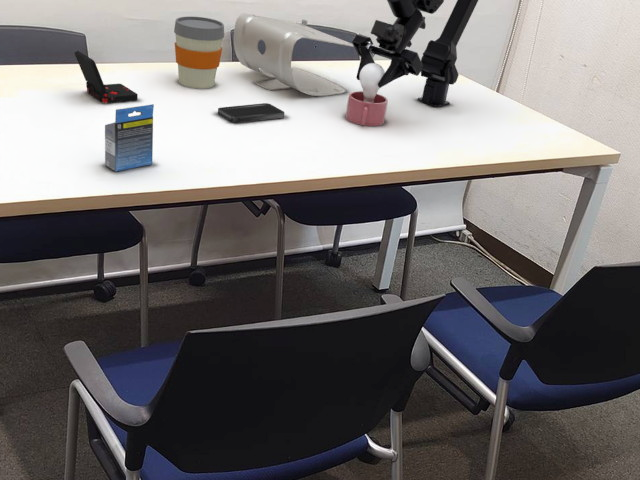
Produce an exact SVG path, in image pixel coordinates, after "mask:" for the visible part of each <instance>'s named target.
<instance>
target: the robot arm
mask: <svg viewBox="0 0 640 480" xmlns="http://www.w3.org/2000/svg"><path fill="white" fill-rule="evenodd" d="M386 1H387V4H388V6H389V8H390V10H391V13H392V15H393V16H394V17H395V18H396V19H395V21H394V22H393V24H392V23H388V22H384V21H381V20H378V19H375V20H374V24H373V26H372V28H371V31H370V34H371V35H374V36H375V37H376V39H375V41H376V42H377V43H378V44H379V45H376V44H374V42H373V39H372V38H371V37H369V36H367V35H364V34H362V33H361V34H360V33H358V34H356V35H354V37H353V39H352V40H351V43H352V44H353V46H354V47H353V48H354V50H355V51H356V53H357V55H358V56H359V57H360V61H359V64H358V65H359V66H358V69H357V74H356V77H355V78H356V80H357V81H360V80H359V74H360V71H361V69H362V68H363V67H364V66H365V65H367V64H369V63H376V62H375V60H374V57H375V55H376V56H380V57H383V58H386V59H388V60H390V64H389V66H388V67H387V69H386V70H385V74H384V75H383V76H382V78H381V80H380V81H379V83H378V87H379V88H380V89H381V88H383V87H385V86H387V85H388V84H389V83H392V82H393V81H395V80H397V79H400V78H402V77H403V76H404V77H405V76H409V75H410V74H411V75H413V76H417V77H418V76H419V75H420V77H423V78H426V79H425V84H424V86H423V92H422V95H421V97H417V101H419V102H421V103H424V104H426V105H429V106H432V107H435V108H436V107H442V106H448V105H450V104H451V103H450V101H448V100H447V97H448V92H449V87H450V85H454V84H455V83H457V80H458V79H459V78H458V77H459V75H460V74H459V72H458V69H457V67H456V62H457V59H458V51H457V47H458V43H459V42H460V39H461V37H462V36H463V33H464V32H465V29H466V27H467V25H468V24H469V21H470V19H471V16H472V15H473V13H474V11H475V8H476V6H477V4H478V2H479V0H456V2H455V4H454V6H453V8H452V10H451V13H450V15H449V16H448V19H447V21H446V23H445V25H444V27H443V29H442V31H441V34H440V35H439V37H438V38H437V39H436V40H432V39H431V40H430V41H428V43H427V46H426V48H425V50H424V52H422V56H421V58H420V56H419V53H418V51H417V52H416V51H413V50H410V49H407V48H411V46H412V45H413V43H412V39H413V38H414V36H415V35H416V33H417V32H418V31H419V29H422V30H425V29H426V17H425V16H423V13H426V14H430V15H432V14H435V13H436V12H437V11H438V10H439V8H440V7H441V6H442V5H443V3H444V1H445V0H386Z"/></svg>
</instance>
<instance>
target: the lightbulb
mask: <svg viewBox="0 0 640 480" xmlns="http://www.w3.org/2000/svg"><path fill="white" fill-rule="evenodd" d="M385 72H386V70H385V69H384V68H383V66H382V65H380V64H378V63H376V62H375V63H369V64H367V65H365V66H364V67H363V68H362V69H361V71H360V74H359V80H358V81H359V83H360V87H361V88H362V91H363V95H364V99H363V102H368V103H374V98H375V96H376V94H378V91H379V90H380V89H381V88H379V87H378V83H379V81H380V80H381V78H382V76H383V75H384V74H385Z"/></svg>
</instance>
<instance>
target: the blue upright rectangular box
mask: <svg viewBox="0 0 640 480" xmlns="http://www.w3.org/2000/svg"><path fill="white" fill-rule="evenodd" d="M154 105H155V104H154V103H152V104H146V105H138V106H132V107H126V108H125V107H124V108H116V109H115V119H114V120H115V121H114V122H112V123H107V124H105V125H104V165H105V167H106V168H108V169H109V170H112V171H113V172H116V173H117V172H121V171H126V170H130V169H135V168H140V167H144V166H151V165H153V155H154V153H153V149H154V148H153V145H154V143H153V142H154V107H155V106H154ZM134 112H135V113H139V114H137V115H132V116H131V115H130V116H129V114H133V113H134Z"/></svg>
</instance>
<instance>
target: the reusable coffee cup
mask: <svg viewBox="0 0 640 480" xmlns="http://www.w3.org/2000/svg"><path fill="white" fill-rule="evenodd" d="M173 28H174V29H173V30H174V31H173V32H174V34H175V42H174V53H175V54H174V56H175V63H176V64H177V69H178V71H177V73H178V83H179V84H180V85H181V86H184V87H188V88H191V89H200V90H201V89H202V90H203V89H210V88H213V87H214V86H215V81H216V76H217V71H218V68H219V67H220V64H221V58H222V53H223V47H222V44H223V40H224V38H225V24H224V23H223V22H222V21H219V20H217V19H214V18H209V17H203V16H180V17H177V18H176V19H175V22H174V27H173Z"/></svg>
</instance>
